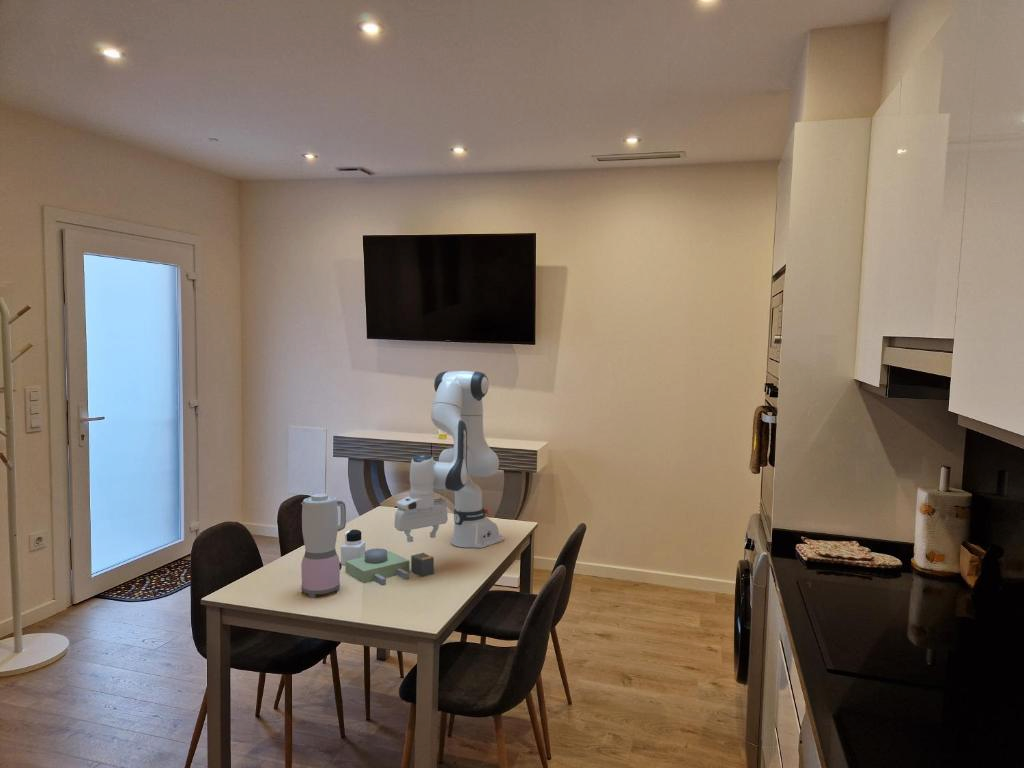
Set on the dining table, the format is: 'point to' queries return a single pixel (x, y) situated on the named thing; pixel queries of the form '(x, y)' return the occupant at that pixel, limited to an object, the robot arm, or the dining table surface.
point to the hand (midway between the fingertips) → (421, 539)
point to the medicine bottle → (352, 546)
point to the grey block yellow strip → (422, 564)
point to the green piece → (378, 566)
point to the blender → (321, 544)
